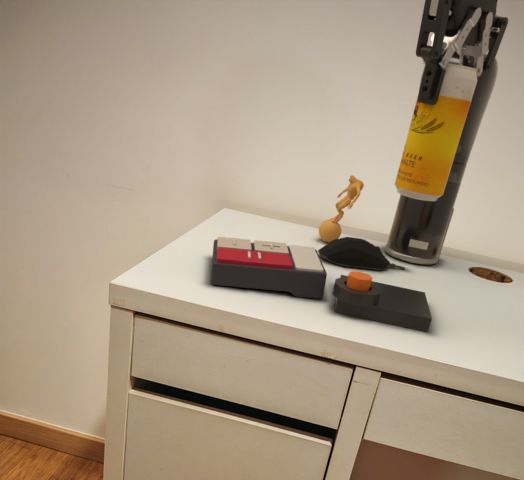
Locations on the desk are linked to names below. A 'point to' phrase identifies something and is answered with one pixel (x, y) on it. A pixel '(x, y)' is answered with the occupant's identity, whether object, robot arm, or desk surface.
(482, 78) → the robot arm
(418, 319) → the black orange button box
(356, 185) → the figurine
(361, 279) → the button
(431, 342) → the desk surface
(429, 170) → the beer can
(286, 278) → the red grey electronic device
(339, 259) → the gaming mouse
